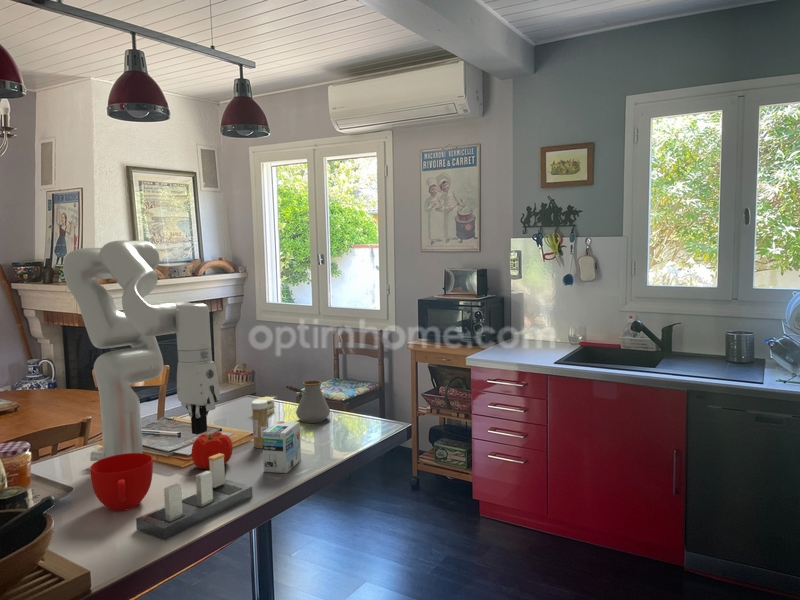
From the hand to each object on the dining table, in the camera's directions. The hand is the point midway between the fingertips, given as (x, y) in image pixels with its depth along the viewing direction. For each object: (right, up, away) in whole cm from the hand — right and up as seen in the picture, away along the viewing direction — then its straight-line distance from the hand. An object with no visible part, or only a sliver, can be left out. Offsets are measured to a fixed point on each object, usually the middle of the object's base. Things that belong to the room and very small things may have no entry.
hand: (199, 432), depth 141 cm
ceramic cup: (-15, -16, -7) cm, 23 cm away
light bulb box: (+16, -13, +18) cm, 28 cm away
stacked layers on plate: (0, -9, +70) cm, 70 cm away
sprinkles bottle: (+7, -12, +34) cm, 37 cm away
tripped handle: (+5, -12, -2) cm, 13 cm away
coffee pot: (+16, -10, +56) cm, 59 cm away
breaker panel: (+3, -16, -10) cm, 19 cm away
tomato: (-3, -13, +19) cm, 23 cm away
